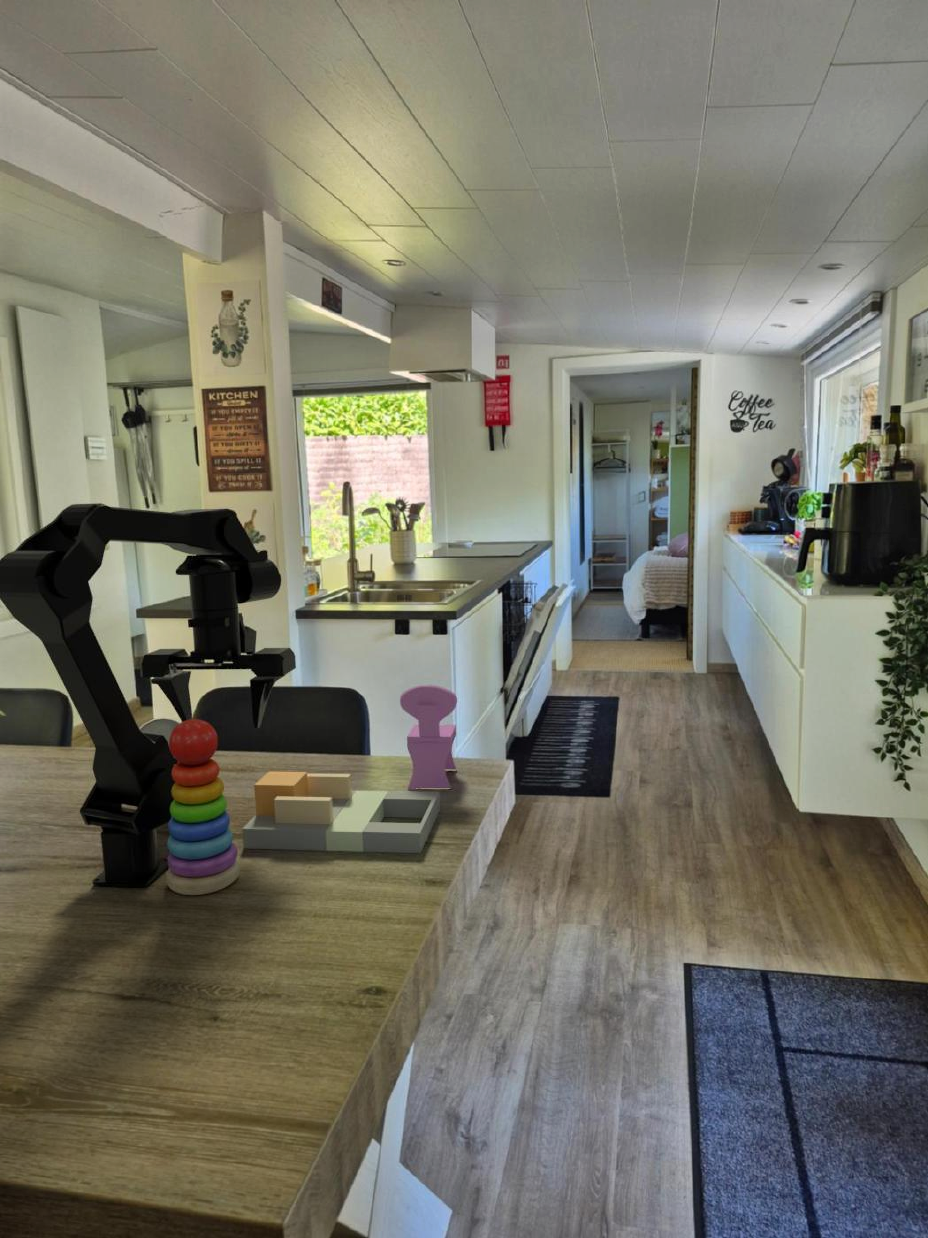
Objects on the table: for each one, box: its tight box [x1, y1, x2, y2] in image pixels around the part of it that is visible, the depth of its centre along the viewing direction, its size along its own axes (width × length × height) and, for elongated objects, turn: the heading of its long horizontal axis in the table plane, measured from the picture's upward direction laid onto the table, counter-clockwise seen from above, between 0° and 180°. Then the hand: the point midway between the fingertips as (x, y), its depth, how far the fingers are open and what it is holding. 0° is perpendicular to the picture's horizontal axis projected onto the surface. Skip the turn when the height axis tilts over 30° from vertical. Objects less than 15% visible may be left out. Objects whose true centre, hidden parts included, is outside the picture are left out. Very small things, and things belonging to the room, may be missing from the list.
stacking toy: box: [165, 718, 241, 896], centre depth 95 cm, size 8×8×19 cm
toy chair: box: [399, 684, 458, 790], centre depth 127 cm, size 8×9×15 cm
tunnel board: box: [241, 772, 441, 854], centre depth 110 cm, size 14×22×6 cm, turn 82°
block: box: [253, 771, 308, 816], centre depth 111 cm, size 5×5×4 cm
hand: (223, 728), depth 112 cm, fingers open, 9 cm apart
